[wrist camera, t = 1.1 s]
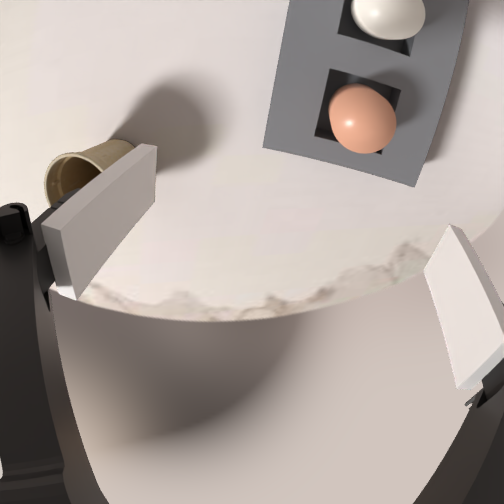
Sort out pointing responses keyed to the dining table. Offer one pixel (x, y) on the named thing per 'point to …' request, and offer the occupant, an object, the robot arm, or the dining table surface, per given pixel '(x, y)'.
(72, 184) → the flower pot
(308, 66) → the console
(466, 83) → the dining table surface
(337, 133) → the terracotta key
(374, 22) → the ivory key
